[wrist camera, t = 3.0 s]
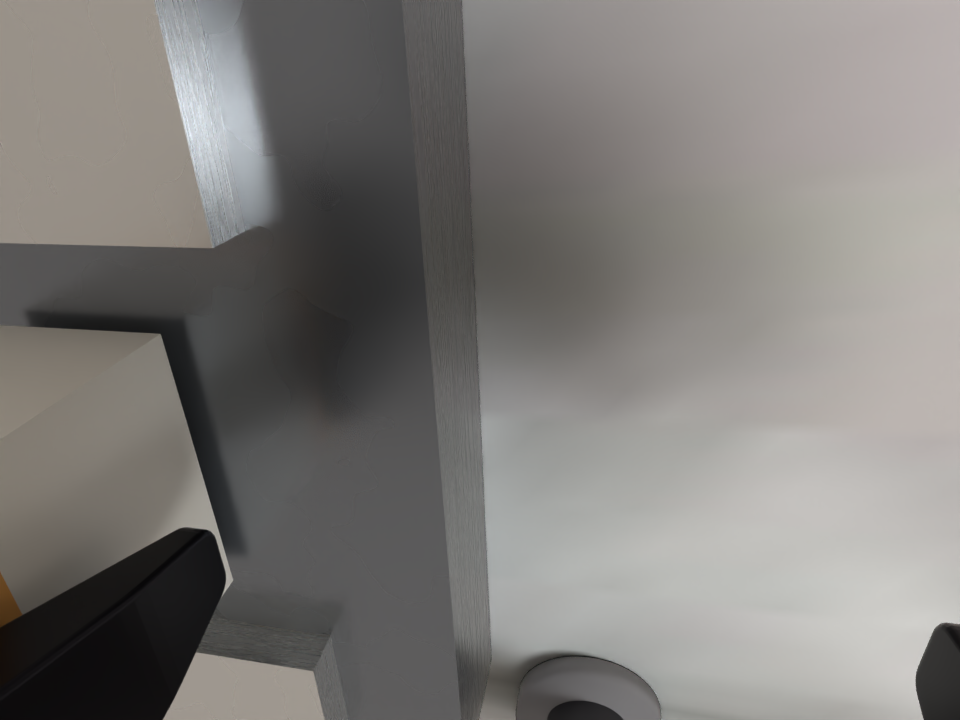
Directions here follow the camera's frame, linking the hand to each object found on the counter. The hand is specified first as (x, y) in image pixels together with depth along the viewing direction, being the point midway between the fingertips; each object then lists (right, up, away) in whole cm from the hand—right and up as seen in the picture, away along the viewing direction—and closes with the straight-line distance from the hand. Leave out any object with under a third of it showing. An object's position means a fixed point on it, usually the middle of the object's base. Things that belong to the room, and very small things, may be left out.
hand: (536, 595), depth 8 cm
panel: (-7, +3, +6) cm, 9 cm away
